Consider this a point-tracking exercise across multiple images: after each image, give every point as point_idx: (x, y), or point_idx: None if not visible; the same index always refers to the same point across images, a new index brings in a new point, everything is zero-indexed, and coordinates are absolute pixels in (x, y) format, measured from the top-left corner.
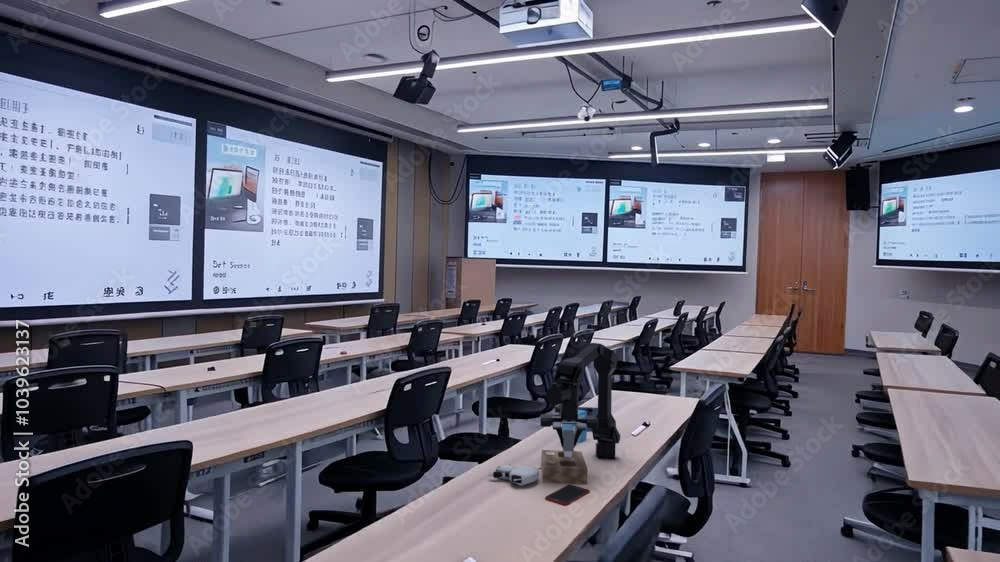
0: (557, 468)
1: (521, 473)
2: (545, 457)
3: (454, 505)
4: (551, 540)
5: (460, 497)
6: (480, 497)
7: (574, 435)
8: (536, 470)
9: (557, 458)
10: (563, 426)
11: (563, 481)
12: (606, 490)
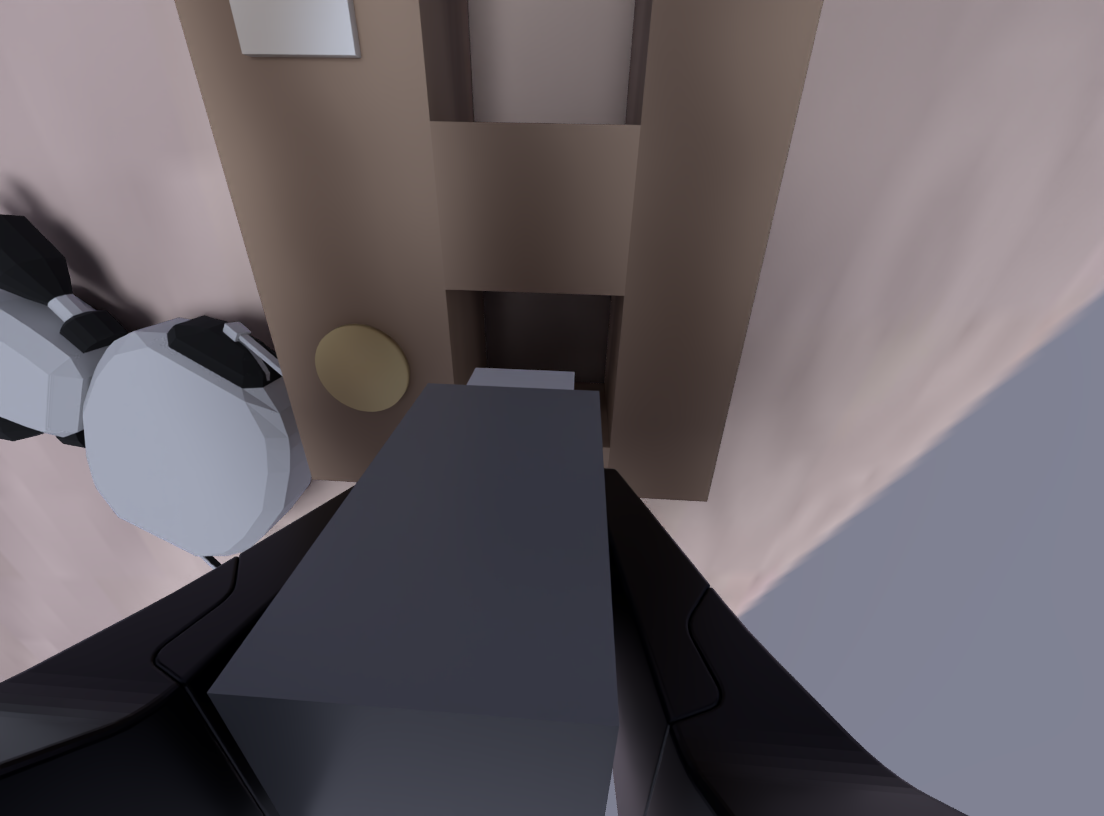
0: None
1: (183, 530)
2: (261, 172)
3: (54, 652)
4: None
5: (23, 594)
6: (107, 594)
7: (626, 661)
8: (271, 479)
9: (417, 200)
10: None
11: None
12: (780, 512)
